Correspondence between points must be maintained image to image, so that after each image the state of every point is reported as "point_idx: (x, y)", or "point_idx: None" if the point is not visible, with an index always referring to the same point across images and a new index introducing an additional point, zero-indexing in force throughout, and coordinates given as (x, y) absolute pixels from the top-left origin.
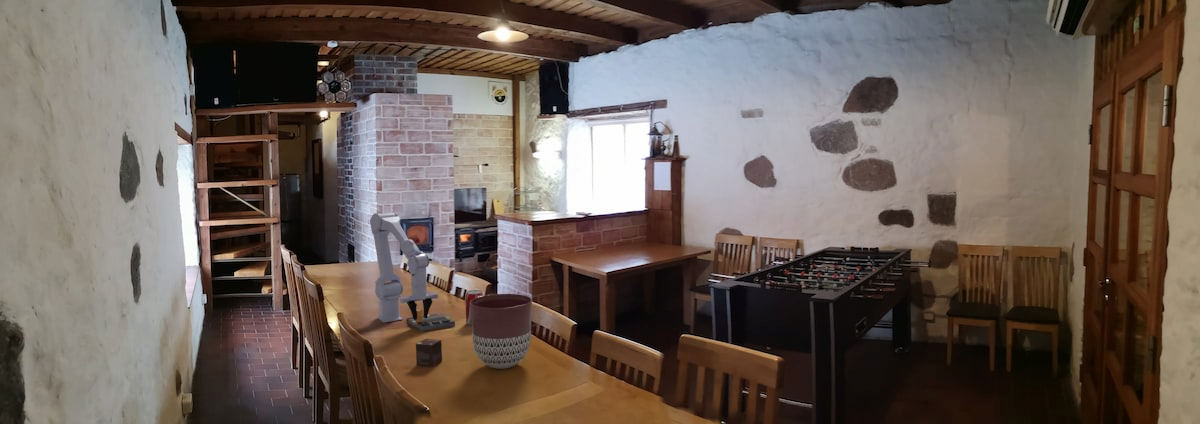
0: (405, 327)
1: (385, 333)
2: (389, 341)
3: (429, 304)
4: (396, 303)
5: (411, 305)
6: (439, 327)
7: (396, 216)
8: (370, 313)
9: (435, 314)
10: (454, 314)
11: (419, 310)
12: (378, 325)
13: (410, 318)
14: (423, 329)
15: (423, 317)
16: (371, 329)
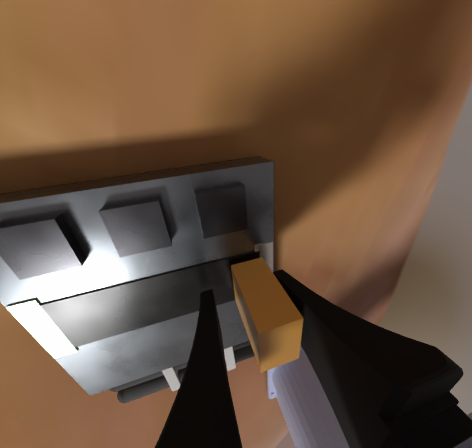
0: (290, 270)
1: (384, 210)
2: (456, 37)
3: (191, 428)
4: (324, 437)
5: (441, 352)
6: (117, 178)
7: None
8: None
9: (133, 395)
10: (27, 416)
11: (278, 337)
12: None
13: (252, 351)
14: (241, 162)
15: None
16: (384, 277)
